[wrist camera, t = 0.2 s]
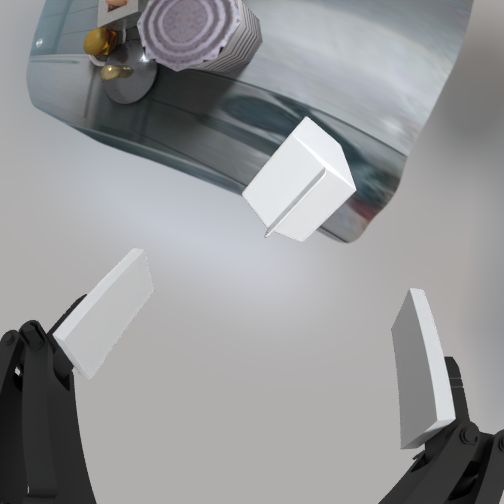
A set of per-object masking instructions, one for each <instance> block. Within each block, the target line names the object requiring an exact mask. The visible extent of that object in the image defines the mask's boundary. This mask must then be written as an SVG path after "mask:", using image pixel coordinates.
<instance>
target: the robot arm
mask: <svg viewBox="0 0 504 504" xmlns="http://www.w3.org/2000/svg"><path fill="white" fill-rule="evenodd" d="M153 292H154V286H153V283H152V278H151V274H150V270H149V266H148V262H147V258H146V253H145V250H142V249H135V248H133V249H132V250H131V251H130V252H129V253H128V254H127V255H126V256H125V257H124V258H123V259H122V260H121V261H120V262H119V263H118V264H117V265H116V266H115V267H114V268H113V269H112V270H111V271H110V272H109V273H108V274H107V275H106V276H105V277H104V278H103V279H102V280H101V281H100V282H99V283H98V284H97V285H96V286H95V287H94V288H93V290H92V291H91V292H90V293H89V294H88V295H87V294H85V295H83V296H82V297H81V298H79V299H77V300H76V301H75V302H74V303H73V304H72V305H71V308H69V309H68V310H67V311H66V313H65V314H63V315H62V317H61V318H60V319H59V320H58V321H57V323H55V325H54V326H53V327H52V328H51V329H50V330H49V332H48V333H47V334H46V333H45V331H44V330H43V328H42V327H41V325H40V323H39V322H38V321H36V320H30V321H28V322H26V323H25V324H23V325H22V326H21V328H20V329H19V332H17V331H16V330H10V331H8V332H6V333H5V334H4V335H3V337H2V339H1V341H0V504H96V501H95V497H94V494H93V491H92V487H91V484H90V480H89V476H88V472H87V468H86V463H85V458H84V454H83V449H82V444H81V438H80V431H79V425H78V418H77V410H76V400H75V388H74V375H73V372H72V371H71V370H72V369H73V367H75V368H76V370H77V371H78V373H79V374H81V375H82V376H84V377H86V378H88V379H90V380H91V379H92V378H93V376H94V374H95V373H96V372H97V370H98V369H99V367H100V366H101V364H102V363H103V361H104V360H105V359H106V357H107V356H108V354H109V353H110V351H111V350H112V348H113V347H114V346H115V344H116V342H117V341H118V340H119V339H120V337H121V336H122V334H123V333H124V331H125V330H126V329H127V327H128V326H129V325H130V323H131V322H132V320H133V319H134V318H135V316H136V315H137V314H138V312H139V311H140V310H141V308H142V307H143V306H144V304H145V303H146V301H147V300H148V299H149V298H150V296H151V295H152V294H153ZM391 330H392V337H393V344H394V351H395V359H396V368H397V377H398V389H399V403H400V425H401V449H413V448H418V447H420V446H421V445H422V444H424V443H425V450H423V451H422V452H420V453H419V454H417V455H416V456H415V457H414V458H413V460H415V459H416V458H417V460H416V461H415V462H414V463H413V465H412V466H411V467H410V469H409V470H408V471H407V472H406V473H405V475H404V476H403V477H402V478H401V480H400V481H399V482H398V483H397V484H396V485H395V486H394V487H393V489H392V490H391V491H390V492H389V493H388V494H387V495H386V496H385V497H384V498H383V499H382V500H381V501H380V502H379V503H378V504H499V502H500V499H501V496H502V493H503V490H504V429H503V430H501V431H499V432H498V433H496V434H495V435H492V434H487V433H483V432H480V431H479V429H478V427H477V426H476V425H475V423H473V422H470V419H469V414H468V408H467V403H466V398H465V393H464V388H463V383H462V380H461V375H460V371H459V367H458V365H457V363H456V362H455V360H454V359H453V357H444V356H443V352H442V348H441V345H440V341H439V337H438V333H437V330H436V327H435V323H434V320H433V317H432V314H431V311H430V308H429V305H428V302H427V299H426V296H425V293H424V290H422V289H413V288H410V289H409V291H408V293H407V295H406V298H405V300H404V303H403V305H402V307H401V309H400V312H399V314H398V316H397V318H396V320H395V322H394V325H393V326H392V329H391ZM16 367H17V368H18V369H19V370H20V374H19V376H18V375H17V374H16V373H15V369H16ZM28 486H29V493H28Z"/></svg>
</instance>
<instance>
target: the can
mask: <svg viewBox="0 0 504 504" xmlns="http://www.w3.org/2000/svg"><path fill="white" fill-rule="evenodd" d="M137 27H138V31H139V35H140V39H141V42H142V46H143V50H144V54H145V57H147V58H149V59H151V60H154V61H156V62H158V63H160V64H162V65H163V66H166V67H169V68H171V69H173V70H175V71H177V72H178V71H180V70H183V69H186V68H189V69H197V70H204V71H215V72H224V73H228V72H230V71H232V70H234V69H236V68H238V67H240V66H243V65H245V64H247V63H249V62H250V61H251V60H252V58H253V56H254V55H255V53H256V51H257V50H258V48H259V46H260V45H261V43H262V42H263V41H262V34H261V28H260V22H259V19H258V18H257V17H256V16H255V15H254V14H253V13H252V12H251V11H250V10H249V8H248V7H247V6H246V5H245V4H244V3H243V2H242V1H241V0H149V2H148V4H147V6H146V7H145V9H144V11H143V13H142V15H141V17H140V19H139V21H138V23H137Z"/></svg>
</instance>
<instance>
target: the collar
mask: <svg viewBox="0 0 504 504" xmlns="http://www.w3.org/2000/svg"><path fill="white" fill-rule="evenodd" d="M148 2H149V0H127V5H124V6H122V7H120V6H115V5H111V4H107V3H106V1H105V0H99V7H98V25H97V28H102V29H111V30H118V31H123V30H124V29H125V30H126V29H129V28H131V27H134V26H137V23H138V21H139V19H140V17H141V15H142V13H143V11H144V9H145V7H146V6H147V4H148Z"/></svg>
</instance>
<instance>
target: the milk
mask: <svg viewBox="0 0 504 504" xmlns="http://www.w3.org/2000/svg"><path fill="white" fill-rule="evenodd" d="M355 191H356V188H355V185H354V182H353V179H352V176H351V173H350V170H349V167H348V164H347V162H346V159H345V156H344V153H343V151H342V148H341V145H340V144H339V143H338V142H336V141H335V140H334V139H333V138H332V137H331V136H330V135H328V134H327V133H326V132H325V131H324V130H323V129H321V128H320V127H319V126H318V125H317V124H315V123H314V122H313V121H312V120H310V119H309V118H308V117H305V118H304V119H303V120H302V121H301V123H300V124H299V125H298V126H297V127H296V128H295V129H294V131H293V132H292V133H291V134H290V135H289V136H288V138H287V139H286V140H285V141H284V142H283V144H282V145H281V146H280V147H279V148H278V150H277V151H276V152H275V153H274V154H273V156H272V157H271V158H270V159H269V160H268V162H267V163H266V164H265V165H264V166H263V168H262V169H261V170H260V171H259V173H258V174H257V175H256V176H255V178H254V179H253V180H252V181H251V183H250V184H249V185H248V186H247V188H246V189H245V190H244V191H243V193H242V195H243V197H244V198H245V199H246V201H247V202H248V203H249V205H250V206H251V207H252V208H253V210H254V211H255V212H256V214H257V215H258V216H259V218H260V219H261V220H262V222H263V223H264V224H265V225H266V227H267V232H266V234H265V238H267V237H268V236H269V235H270V234H271V233H272V232H273V231H275V232H277V233H279V234H282V235H284V236H287V237H289V238H292V239H294V240H297V241H299V242H303V241H304V240H305V239H306V238H307V237H308V236H309V235H311V233H313V232H314V231H315V230H316V229H317V228H318V227H319V226H320V225H321V224H322V223H323V222H324V221H325V220H326V219H327V218H328V217H329V216H330V215H331V214H332V213H333V212H334V211H335V210H337V209H338V208H339V207H340V206H341V205H342V204H343V203H344V202H345V201H346V200H347V199H348V198H349V197H350V196H351V195H352V194H353V193H354V192H355Z"/></svg>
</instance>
